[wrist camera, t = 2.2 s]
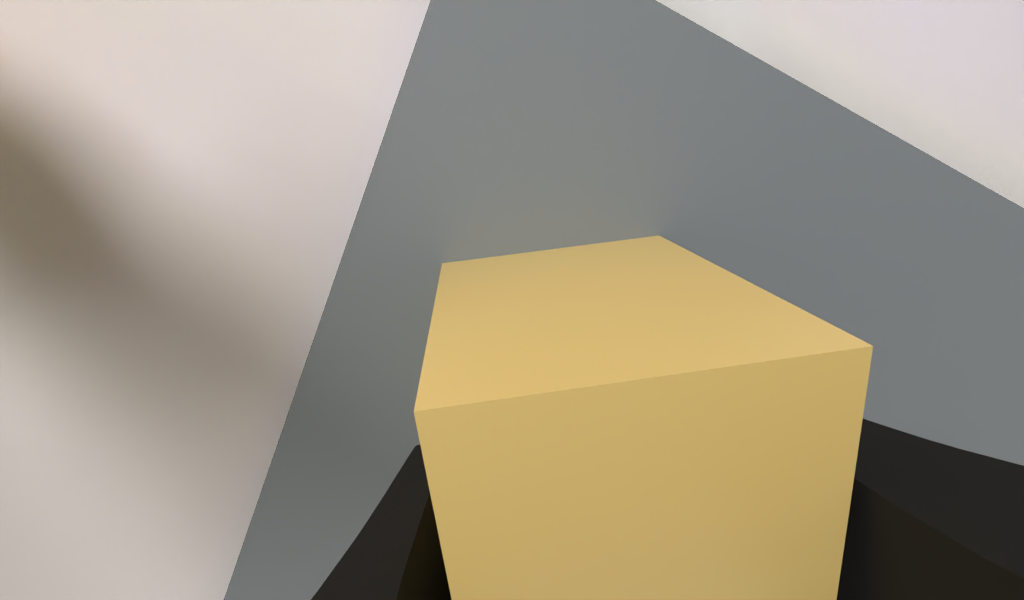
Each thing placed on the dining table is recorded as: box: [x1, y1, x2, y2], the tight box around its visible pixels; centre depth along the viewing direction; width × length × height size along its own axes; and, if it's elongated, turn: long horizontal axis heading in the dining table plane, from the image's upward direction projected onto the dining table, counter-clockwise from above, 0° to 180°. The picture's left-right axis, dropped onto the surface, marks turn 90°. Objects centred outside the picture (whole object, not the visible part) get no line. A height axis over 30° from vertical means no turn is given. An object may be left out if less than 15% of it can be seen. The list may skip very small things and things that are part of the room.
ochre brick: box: [414, 236, 873, 600], centre depth 8 cm, size 4×7×5 cm, turn 6°
